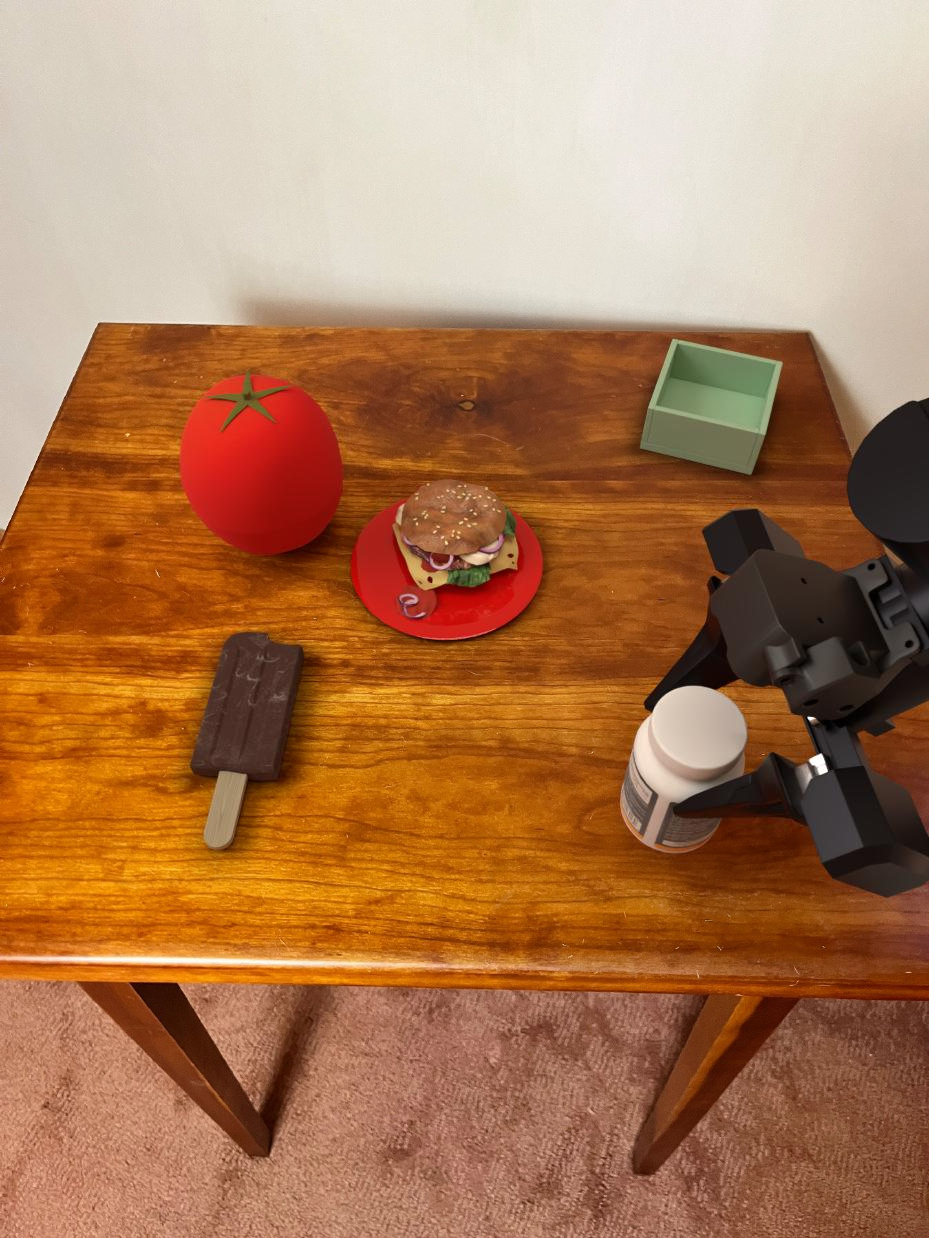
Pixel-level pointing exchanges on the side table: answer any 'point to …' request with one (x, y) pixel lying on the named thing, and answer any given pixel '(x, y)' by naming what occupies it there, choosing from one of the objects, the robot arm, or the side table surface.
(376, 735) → the side table surface
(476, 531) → the hamburger
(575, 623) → the side table surface
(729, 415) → the green storage bin
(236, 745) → the ice cream bar
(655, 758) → the pill bottle
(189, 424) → the tomato
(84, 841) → the side table surface
